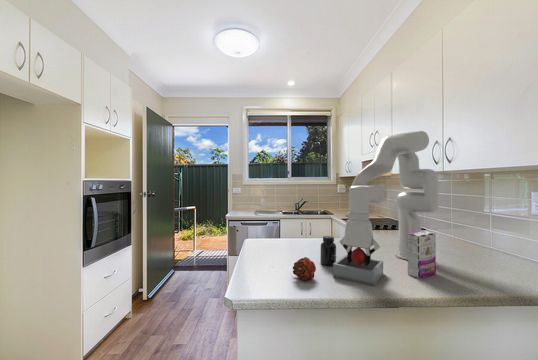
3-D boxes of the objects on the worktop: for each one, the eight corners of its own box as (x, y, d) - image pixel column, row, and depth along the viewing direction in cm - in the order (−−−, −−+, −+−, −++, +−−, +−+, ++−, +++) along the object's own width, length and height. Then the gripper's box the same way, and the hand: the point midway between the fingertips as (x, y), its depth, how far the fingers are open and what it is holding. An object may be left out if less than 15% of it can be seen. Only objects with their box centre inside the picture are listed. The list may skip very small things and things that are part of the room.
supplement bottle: (336, 267, 111) (336, 239, 111) (320, 265, 113) (320, 238, 113) (335, 262, 118) (335, 235, 118) (320, 261, 119) (320, 234, 119)
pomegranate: (348, 264, 104) (348, 244, 104) (362, 263, 105) (362, 243, 105) (354, 269, 99) (354, 248, 99) (369, 268, 99) (369, 247, 99)
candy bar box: (423, 270, 108) (424, 230, 108) (436, 274, 104) (436, 232, 104) (406, 274, 103) (406, 233, 103) (418, 278, 98) (419, 235, 98)
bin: (346, 266, 112) (346, 254, 112) (383, 273, 104) (383, 261, 104) (332, 276, 100) (332, 263, 100) (373, 286, 91) (373, 272, 91)
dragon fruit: (302, 289, 92) (302, 281, 104) (321, 275, 92) (319, 269, 104) (288, 268, 94) (290, 263, 105) (307, 255, 94) (307, 251, 105)
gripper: (334, 216, 104) (334, 261, 104) (380, 220, 94) (379, 270, 94) (340, 214, 110) (340, 257, 110) (384, 218, 100) (384, 264, 100)
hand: (358, 262), depth 102 cm, fingers closed on pomegranate, 5 cm apart
